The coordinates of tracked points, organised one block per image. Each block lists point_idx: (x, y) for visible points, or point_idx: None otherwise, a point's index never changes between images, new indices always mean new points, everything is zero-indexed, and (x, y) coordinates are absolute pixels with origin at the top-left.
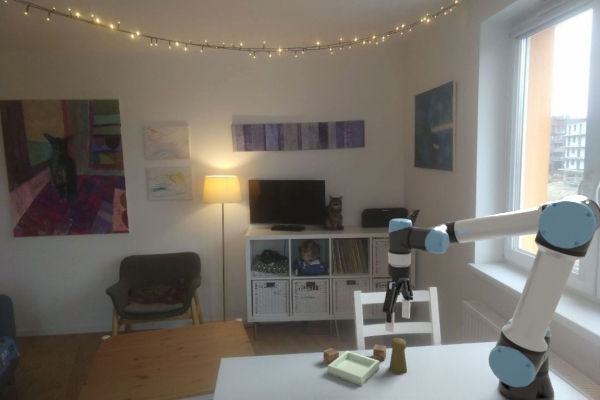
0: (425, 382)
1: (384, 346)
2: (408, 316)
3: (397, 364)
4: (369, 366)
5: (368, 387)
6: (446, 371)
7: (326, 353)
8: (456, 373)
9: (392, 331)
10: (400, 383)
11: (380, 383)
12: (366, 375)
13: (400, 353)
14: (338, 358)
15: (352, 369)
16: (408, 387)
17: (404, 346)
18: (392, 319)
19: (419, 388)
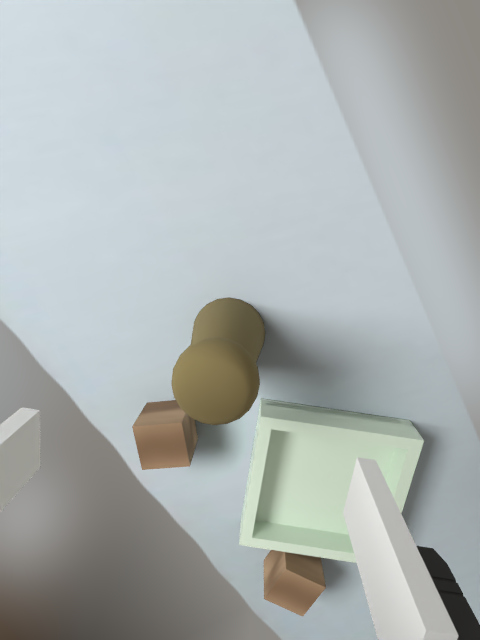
0: (277, 205)
1: (139, 432)
2: (28, 425)
3: (258, 341)
4: (280, 435)
5: (408, 396)
6: (137, 135)
7: (313, 601)
8: (130, 86)
9: (376, 468)
10: (330, 297)
11: (362, 366)
12: (377, 427)
13: (246, 348)
14: (315, 552)
15: (331, 482)
16: (346, 261)
17: (231, 344)
18: (416, 563)
19: (335, 218)
